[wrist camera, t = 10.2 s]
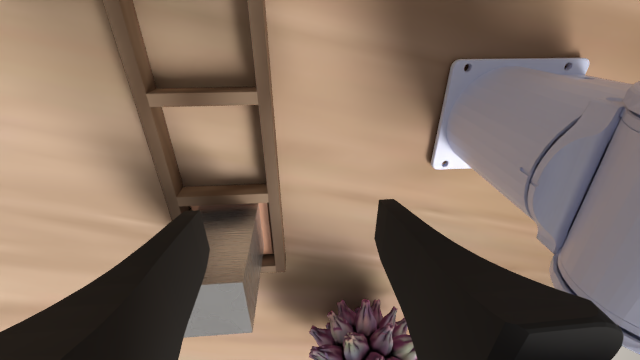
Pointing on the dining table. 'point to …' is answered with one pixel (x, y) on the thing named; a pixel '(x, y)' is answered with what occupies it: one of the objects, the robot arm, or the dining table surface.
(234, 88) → the rail
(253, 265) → the square peg
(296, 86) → the dining table surface
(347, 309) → the spiky ball
